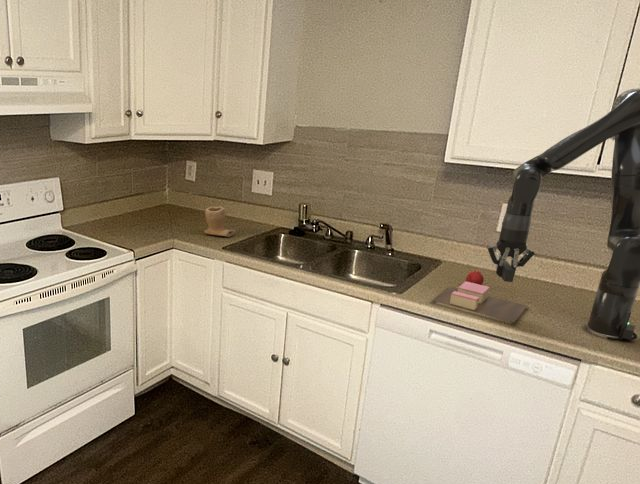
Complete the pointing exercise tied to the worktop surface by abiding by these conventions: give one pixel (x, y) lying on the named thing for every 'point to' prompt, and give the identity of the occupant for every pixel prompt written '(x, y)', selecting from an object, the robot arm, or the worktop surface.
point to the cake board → (488, 306)
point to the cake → (475, 290)
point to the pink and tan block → (464, 300)
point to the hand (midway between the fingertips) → (504, 276)
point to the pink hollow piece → (217, 222)
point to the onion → (475, 277)
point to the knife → (506, 271)
